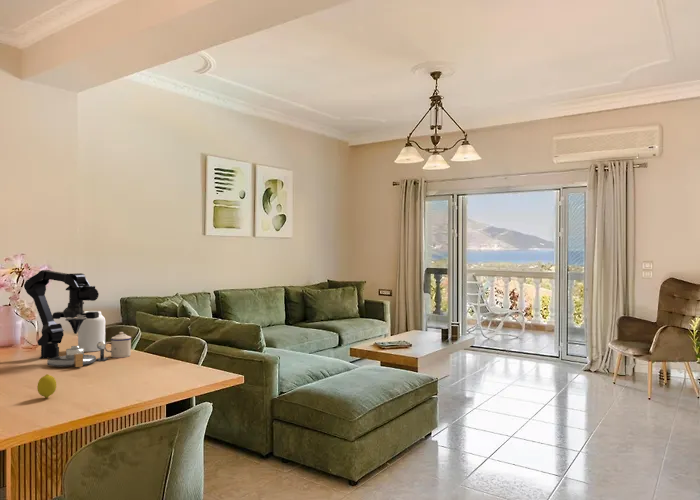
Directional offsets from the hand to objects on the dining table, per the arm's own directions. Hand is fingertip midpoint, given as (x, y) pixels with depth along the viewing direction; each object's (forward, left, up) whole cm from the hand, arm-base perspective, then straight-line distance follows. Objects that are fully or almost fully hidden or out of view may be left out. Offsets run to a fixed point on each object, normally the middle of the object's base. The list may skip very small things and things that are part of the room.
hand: (75, 333), depth 239 cm
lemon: (+18, -68, -12) cm, 71 cm away
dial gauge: (+13, -3, -12) cm, 18 cm away
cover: (+4, -10, -10) cm, 14 cm away
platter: (+4, -12, -11) cm, 17 cm away
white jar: (-2, +25, -12) cm, 28 cm away
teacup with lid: (+17, +6, -12) cm, 22 cm away
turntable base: (+3, -11, -12) cm, 17 cm away
